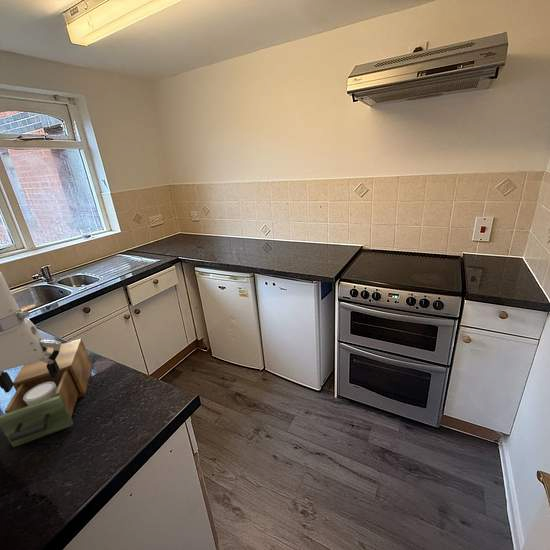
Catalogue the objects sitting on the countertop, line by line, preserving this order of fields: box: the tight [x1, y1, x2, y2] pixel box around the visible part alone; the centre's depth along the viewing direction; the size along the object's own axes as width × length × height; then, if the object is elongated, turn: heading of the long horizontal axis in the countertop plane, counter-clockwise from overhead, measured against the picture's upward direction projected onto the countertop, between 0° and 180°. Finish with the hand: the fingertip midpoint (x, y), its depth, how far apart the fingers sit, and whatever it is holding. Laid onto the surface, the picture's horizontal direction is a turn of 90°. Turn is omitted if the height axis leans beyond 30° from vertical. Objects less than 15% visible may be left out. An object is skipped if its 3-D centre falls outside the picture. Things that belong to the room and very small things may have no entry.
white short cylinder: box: [23, 382, 57, 406], centre depth 77 cm, size 7×7×7 cm
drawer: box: [0, 369, 79, 448], centre depth 75 cm, size 19×12×9 cm, turn 23°
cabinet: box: [12, 338, 94, 399], centre depth 88 cm, size 16×14×11 cm
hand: (33, 381), depth 74 cm, fingers open, 9 cm apart
